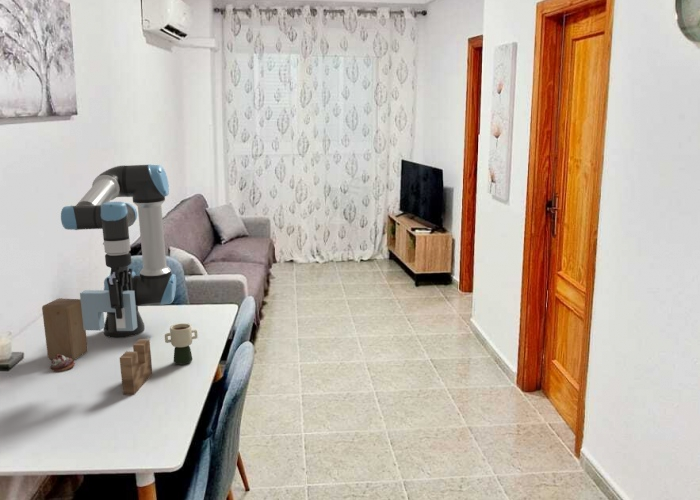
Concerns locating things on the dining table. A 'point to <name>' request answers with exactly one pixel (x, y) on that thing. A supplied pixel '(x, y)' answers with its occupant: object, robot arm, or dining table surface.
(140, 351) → the wooden stepped blocks
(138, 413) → the dining table surface
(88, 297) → the blue arch block
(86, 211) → the robot arm
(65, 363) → the pastry
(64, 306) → the wooden block
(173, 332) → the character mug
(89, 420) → the dining table surface
